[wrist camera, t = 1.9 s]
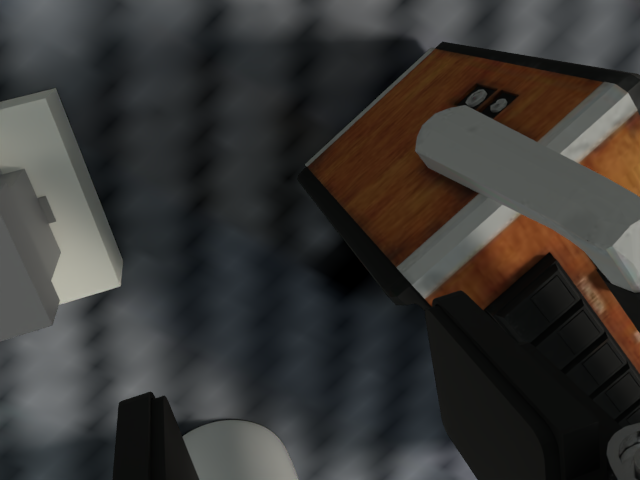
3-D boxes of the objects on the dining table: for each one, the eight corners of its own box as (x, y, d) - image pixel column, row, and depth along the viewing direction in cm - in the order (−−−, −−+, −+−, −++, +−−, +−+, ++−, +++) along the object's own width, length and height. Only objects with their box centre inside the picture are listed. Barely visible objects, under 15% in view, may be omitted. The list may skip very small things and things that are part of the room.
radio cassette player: (274, 154, 31) (436, 369, 13) (425, 13, 31) (808, 44, 13) (541, 440, 44) (808, 746, 26) (652, 345, 43) (1004, 594, 26)
